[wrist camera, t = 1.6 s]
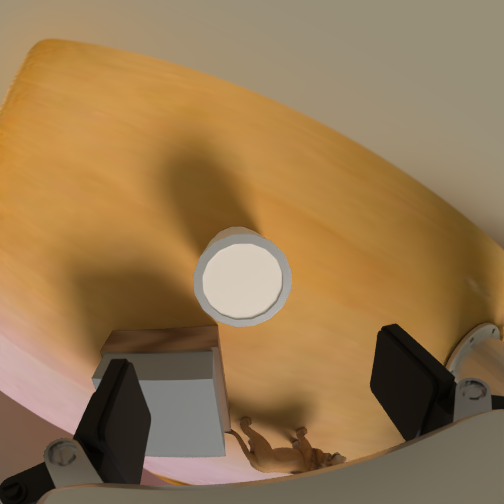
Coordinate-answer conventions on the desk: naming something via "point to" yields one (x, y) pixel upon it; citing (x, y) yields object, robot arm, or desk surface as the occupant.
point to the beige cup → (242, 278)
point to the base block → (174, 350)
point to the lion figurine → (284, 453)
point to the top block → (178, 402)
